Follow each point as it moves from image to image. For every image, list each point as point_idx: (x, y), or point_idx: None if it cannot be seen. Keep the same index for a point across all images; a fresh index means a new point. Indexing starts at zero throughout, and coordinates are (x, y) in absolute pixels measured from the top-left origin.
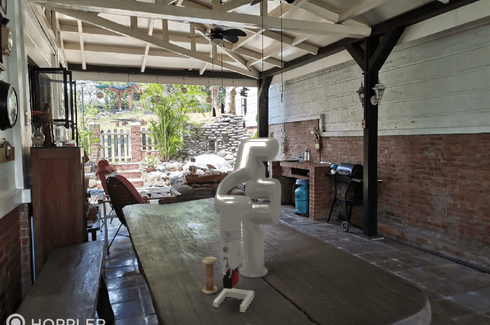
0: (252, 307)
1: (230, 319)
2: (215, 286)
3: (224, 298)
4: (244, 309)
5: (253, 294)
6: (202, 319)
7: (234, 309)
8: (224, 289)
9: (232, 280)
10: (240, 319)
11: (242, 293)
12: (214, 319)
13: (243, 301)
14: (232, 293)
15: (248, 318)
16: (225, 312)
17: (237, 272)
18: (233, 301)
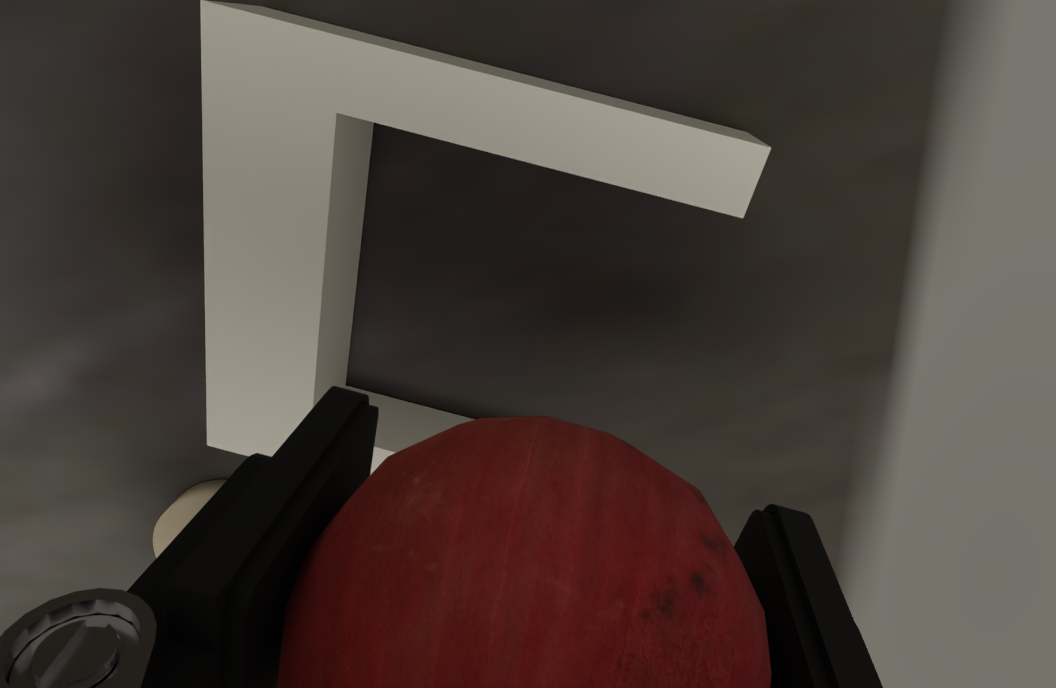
0: (572, 11)
1: (888, 303)
2: (159, 520)
3: (400, 410)
4: (744, 135)
5: (258, 11)
6: (835, 567)
7: (633, 272)
8: (268, 452)
9: (763, 637)
10: (914, 174)
11: (331, 205)
12: (855, 468)
13: (603, 171)
14: (326, 343)
15: (908, 53)
16: (705, 370)
17: (406, 628)
18: (425, 298)
